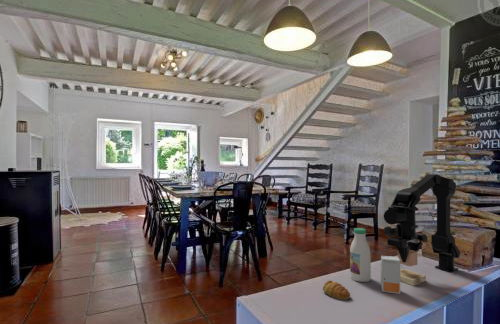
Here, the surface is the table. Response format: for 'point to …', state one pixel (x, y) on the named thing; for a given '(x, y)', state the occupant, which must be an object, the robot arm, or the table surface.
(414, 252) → the cube
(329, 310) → the table surface
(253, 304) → the table surface
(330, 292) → the pastry
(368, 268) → the milk bottle
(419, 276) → the plinth
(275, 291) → the table surface
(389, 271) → the skincare box
